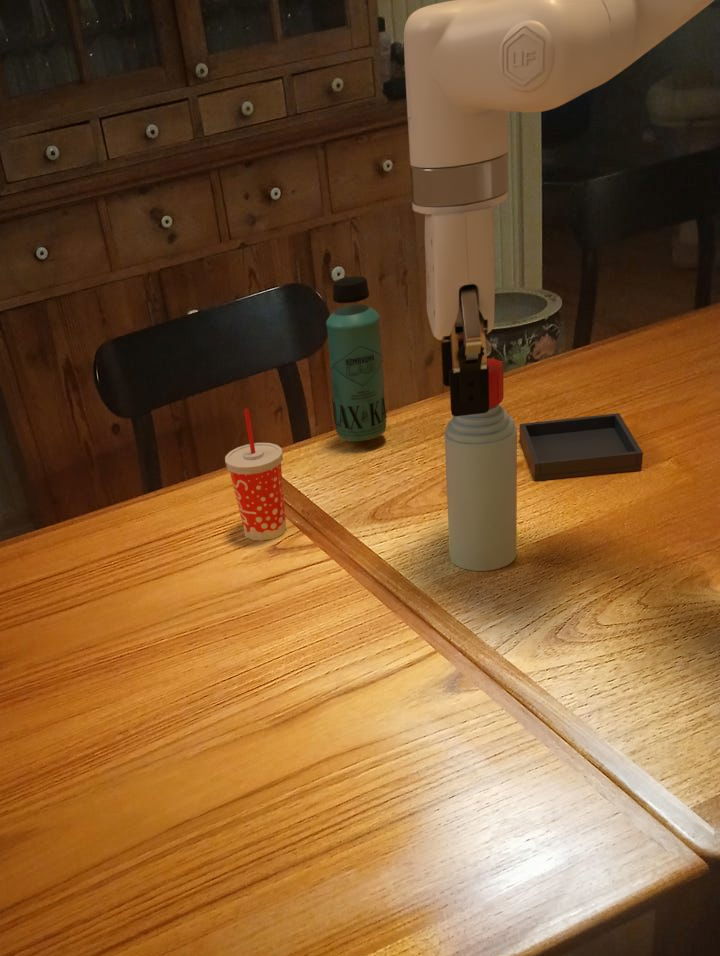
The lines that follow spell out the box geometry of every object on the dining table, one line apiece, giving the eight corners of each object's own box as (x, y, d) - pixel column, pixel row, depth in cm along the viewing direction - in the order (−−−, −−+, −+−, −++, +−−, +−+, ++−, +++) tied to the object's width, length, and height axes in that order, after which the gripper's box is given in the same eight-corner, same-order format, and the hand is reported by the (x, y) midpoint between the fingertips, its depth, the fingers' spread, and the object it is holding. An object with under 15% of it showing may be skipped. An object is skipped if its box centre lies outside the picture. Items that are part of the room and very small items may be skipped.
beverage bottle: (327, 442, 125) (309, 281, 114) (373, 427, 127) (360, 267, 116) (352, 458, 120) (336, 291, 109) (399, 442, 121) (388, 276, 110)
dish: (618, 429, 115) (619, 412, 114) (641, 470, 106) (643, 452, 104) (519, 440, 117) (519, 423, 115) (534, 481, 107) (534, 463, 106)
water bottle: (511, 535, 99) (511, 355, 88) (521, 568, 93) (522, 379, 83) (446, 541, 100) (439, 363, 89) (452, 574, 94) (445, 389, 84)
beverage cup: (232, 525, 110) (211, 406, 102) (285, 512, 110) (268, 393, 103) (244, 549, 105) (223, 425, 97) (299, 535, 105) (282, 412, 98)
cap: (454, 395, 90) (453, 361, 88) (499, 390, 89) (499, 355, 87) (459, 412, 86) (458, 376, 85) (505, 406, 86) (505, 371, 84)
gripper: (405, 171, 86) (416, 370, 96) (419, 213, 72) (430, 441, 82) (492, 158, 85) (495, 360, 95) (525, 197, 71) (523, 431, 80)
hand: (465, 396), depth 88 cm, fingers open, 6 cm apart
